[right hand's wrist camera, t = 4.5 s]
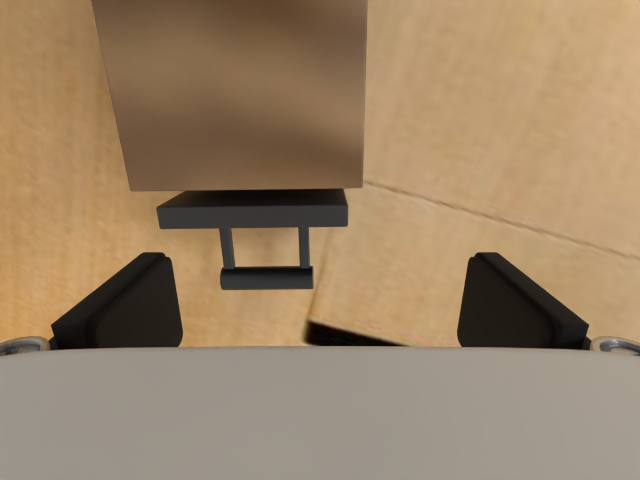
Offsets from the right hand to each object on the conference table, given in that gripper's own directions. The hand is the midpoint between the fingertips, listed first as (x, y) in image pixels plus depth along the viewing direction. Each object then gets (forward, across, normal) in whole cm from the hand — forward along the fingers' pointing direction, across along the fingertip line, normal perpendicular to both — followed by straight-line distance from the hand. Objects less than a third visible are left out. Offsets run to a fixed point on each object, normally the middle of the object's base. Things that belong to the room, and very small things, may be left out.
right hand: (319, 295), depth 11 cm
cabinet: (+16, +4, -9) cm, 19 cm away
